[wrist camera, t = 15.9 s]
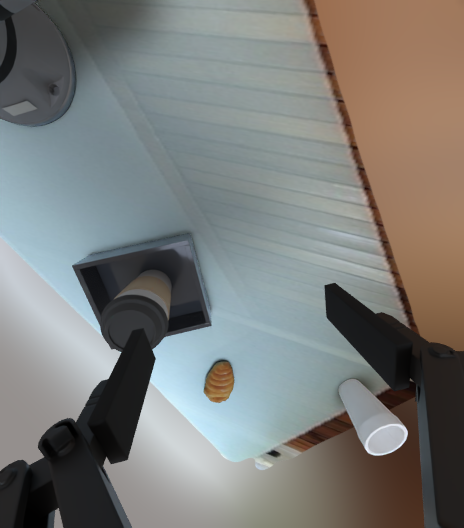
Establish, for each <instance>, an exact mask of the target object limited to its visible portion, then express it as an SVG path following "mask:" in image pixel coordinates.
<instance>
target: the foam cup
mask: <svg viewBox="0 0 464 528" xmlns="http://www.w3.org/2000/svg"><path fill="white" fill-rule="evenodd" d="M338 393H339V395H340V397H341V400H342V402H343V404H344V406H345V408H346V410H347V412H348V414H349V416H350V419H351V421H352V423H353V425H354V427H355V429H356V431H357V433H358V437H359V439H360V440H361V442H362V444H363V445H364V447H365V449H366V450H367V452H368V453H370V454H372V455H385V454H388V453H391V452H393V451H395V450H396V449H397V448H399V447H400V446H401V445H402V444H403V443H404V442H405V440H406V438H407V434H408V432H407V430H406V428H405V426H404V425H403V424H402V423H401V422H400V420H399V419H398V418H397V417H396V416H395V415H393V414H392V413H391V412H390V411H389V410H388V409H387V408H386V407H385V406H384V405H383V404H382V403H381V402H380V401H379V400H378V399H377V398H376V397H375V396H374V395H373V394H372V393H371V392H370V391H369V390H368V389H367V388H366V387H365V386H364V385H363V384H362V383H361V382H360V381H358V380H356V379H349V380H346V381H344V382H343V383H342V384H341V385H340V387H339V388H338Z"/></svg>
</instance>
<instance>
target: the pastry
mask: <svg viewBox="0 0 464 528" xmlns="http://www.w3.org/2000/svg"><path fill="white" fill-rule="evenodd" d="M233 385H234V377H233V371H232V367H231V365H230V363H229V362H224V361H222V362H218V363H216V364H215V365H214V367H213V368H212V370H211V371H210V372H209V373H208V376H207V378H206V383H205V388H204V394H206V396H207V397H208V398H209V400H210V401H212V402H217V403H220V402H222V401H226V400H227V399H228V398H229V396H230V393H231V392H232V390H233Z"/></svg>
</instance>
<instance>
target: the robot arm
mask: <svg viewBox="0 0 464 528" xmlns="http://www.w3.org/2000/svg"><path fill="white" fill-rule="evenodd" d="M35 1H37V0H0V118H1V119H3V120H6V121H9V122H12V123H15V124H19V125H24V126H41V125H45V124H48V123H51V122H53V121H55V120H57V119H58V118H59V117H61V116H62V115H63V114H64V113H65V111H66V110H67V109H68V107H69V105H70V103H71V101H72V99H73V96H74V92H75V84H76V75H75V67H74V62H73V58H72V55H71V52H70V50H69V47H68V45H67V43H66V41H65V39H64V37H63V36H62V34H61V32H60V31H59V29H58V28H57V27H56V25H55V24H54V23H53V22H52V21H51V19H50V18H49V17H48V16H47V15H46V14H45V13H44V12H43V11H42V10H41V9H40V8H39V7H38V6H37V5H36V4H35V3H34V2H35ZM325 300H326V315H327V319H328V320H329V321H330V322H331V323H332V324H333V325H334V326H335V327H336V328H337V329H338V331H339V332H340V333H341V334H342V335H343V336H344V337H345V338H346V339H347V340H348V341H349V343H350V344H351V345H352V346H353V347H354V348H355V349H356V350H357V351H358V352H359V353H360V355H361V356H362V357H363V358H364V359H365V360H366V361H367V362H368V363H369V364H370V365H371V366H372V368H373V369H374V370H375V371H376V372H377V373H378V374H379V375H380V376H381V377H382V378H383V380H384V381H385V382H386V383H387V384H388V385H389V386H390V387H391V388H392V389H393V390H394V391H397V390H401V389H405V388H409V382H410V378H411V379H412V380H413V381H414V382H415V383H416V384H417V388H416V398H415V401H417V406H418V423H419V441H420V457H421V473H422V487H423V506H424V521H425V528H464V351H455V350H453V349H452V348H450V347H448V346H446V345H443V344H440V343H432V342H431V343H429V342H428V341H426V340H425V339H424V338H422V337H421V336H419V335H418V334H417V333H415V332H414V331H412V330H411V329H409V328H408V327H406V326H405V325H404V324H402V323H400V322H399V321H398V320H397V319H395V318H394V317H392V316H390V315H388V314H385V313H382V312H381V313H377V314H375V313H374V312H373V311H371V310H370V309H369V308H367V307H366V306H365V305H363V304H362V303H361V302H359V301H358V300H357V299H355V298H354V297H353V296H351V295H350V294H349V293H347V292H346V291H345V290H343V289H342V288H341V287H339V286H338V285H337V284H336V283H332V284H328V285H325ZM155 359H156V358H155V356H154V353H153V351H152V348H151V346H150V343H149V341H148V338H147V336H146V333H145V331H144V328H141V329H136V330H132V332H131V334H130V336H129V339H128V341H127V343H126V345H125V347H124V349H123V351H122V353H121V355H120V357H119V359H118V361H117V363H116V365H115V367H114V369H113V371H112V373H111V375H110V377H109V379H107V380H103V381H101V382H100V383H99V384H98V385H97V387H96V388H95V389H94V390H93V392H92V394H91V396H90V397H89V400H88V401H87V403H86V405H85V407H84V409H83V410H82V412H81V414H80V416H79V418H78V420H77V422H75V421H74V420H73V419H71V418H69V419H68V418H67V419H64V420H61V421H59V422H58V423H56V424H54V425H53V426H52V427H51V428H49V429H48V430H47V431H46V432H45V434H44V435H43V436H42V437H41V439H40V441H39V444H38V448H39V450H40V451H41V453H42V454H43V455H44V458H42V459H40V460H38V461H36V462H34V463H33V464H31V465H28V464H27V463H26V462H25V461H24V460H18V461H15V462H13V463H11V464H9V465H8V466H6V467H5V468H3V469H2V470H1V471H0V528H54V517H55V510H56V509H57V508H59V511H60V515H61V519H62V523H63V527H64V528H132V526H131V524H130V522H129V520H128V518H127V516H126V514H125V512H124V509H123V507H122V505H121V503H120V501H119V499H118V497H117V494H116V492H115V490H114V488H113V486H112V484H111V482H110V479H109V478H108V475H107V473H106V471H105V469H104V467H103V464H104V461H105V459H106V457H107V458H108V460H109V462H110V463H111V464H114V463H118V462H122V461H125V460H128V456H129V453H130V449H131V446H132V442H133V438H134V435H135V431H136V428H137V424H138V420H139V417H140V413H141V410H142V406H143V402H144V399H145V395H146V391H147V388H148V384H149V381H150V377H151V374H152V370H153V366H154V363H155Z"/></svg>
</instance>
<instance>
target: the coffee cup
mask: <svg viewBox="0 0 464 528" xmlns="http://www.w3.org/2000/svg"><path fill="white" fill-rule="evenodd" d="M171 289H172V285H171V281H170V279H169V277H168V276H167V275H166V274H164V273H163V272H161V271H158V270H147V271H145V272H143V273H141V274H140V275H139V276H138V277H137V278H136V279H135V280H133V281H132V282H131V283H130V284H129V285H128V286H127V287H126V288H125V289H123V290H122V291H121V292H120V293H119V294H118V295H117V296H116V297H115V298H114V300H112V301H111V302H110V303H108V304H107V306H106V307H105V308H104V310H103V312H102V315H101V325H100V326H101V332H102V335H103V337H104V339H105V340H106V342H107V343H108V344H109V345H110V346H111V347H113V348H114V349H116V350H118V351H120V352H122V351H123V349H124V347H125V345H126V343H127V341H128V339H129V336H130V334H131V332H132V330H136V329H141V328H144V331H145V333H146V336H147V338H148V341H149V343H150V346H151V348H152V349H153V348H155V347H156V346H157V345H158V344H159V343H160V342H161V340H162V339H163V338H164V337H165V335H166V333H167V330H168V320H169V312H170V302H171Z"/></svg>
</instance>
